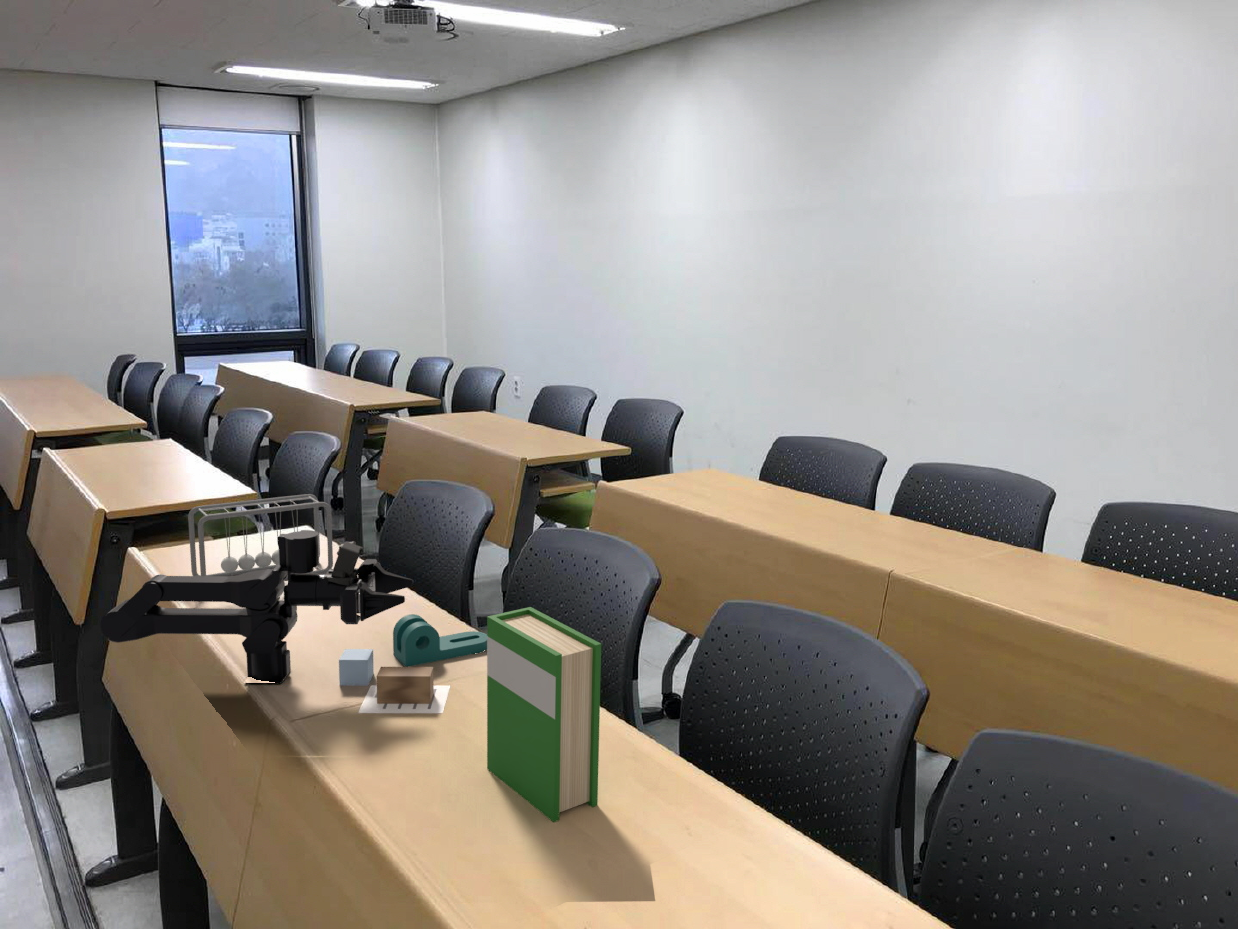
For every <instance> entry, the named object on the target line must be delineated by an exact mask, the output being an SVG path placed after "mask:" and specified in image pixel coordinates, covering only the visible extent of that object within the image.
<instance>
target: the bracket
mask: <svg viewBox="0 0 1238 929" xmlns="http://www.w3.org/2000/svg"><path fill="white" fill-rule="evenodd" d="M392 644H393V646H392V650H393V656H394V657H395V658H396V659H397V660H398V661H399V662H400V663H401V664H402V665H403V667H415V666H418V665H424V664H429V663H433V662H439V661H444V660H449V659H454V658H460V657H464V656H470V655H476V654H475V653H478V654H481V653H480V652H482V653H484V652H483V651H484V650H486V651H487V633H485V632H481V631H475V630H474V631H471V630H470V631H464V632H458V633H452V634H447V635H442V636H441V635H439V632H438V631H437V630H436V628H434V627H433V626H432V625H431V624H430V623H429V622H428V621H426V619H424V618H423V617H422V616H420V615H419V614H413V613H411V614H407V615H404V616H403V617H401V618H400V619H398V621H397V622H396V623H395V625H394V626H393V631H392ZM459 656H460V657H459Z"/></svg>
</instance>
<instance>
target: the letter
mask: <svg viewBox="0 0 1238 929" xmlns="http://www.w3.org/2000/svg"><path fill="white" fill-rule="evenodd" d="M450 688H451V685H435V684H434V694H433V698H432V701H431V704H377V684H375V685H372V684H371V685H370V687H369V689H368V691H367V693H366V695H365V697H364V699H363V702H362V704H361V705H360V708H359V710H358V712H357V713H358V714H443V713H444V709H445V707H446V702H447V699H448V696H449V693H450Z"/></svg>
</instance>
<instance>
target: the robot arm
mask: <svg viewBox="0 0 1238 929" xmlns="http://www.w3.org/2000/svg"><path fill="white" fill-rule="evenodd" d="M276 538H277V539H276V540H277V541H276V542H277V547H278V549H279V561H280V563H279V564H278V565H277V566H276V567H275V568H274V569H264V570H257V571H251V572H247V573H243V574H240V575H234V576H193V575H166V574H156V575H154V576H153V577H151V578H150V579H149V580H147V581H146V582H145V583H143V585H142V587H141V588H140V589H139V590H138V591H137V592H136V593H135V594H134V595H133V596H132V597H131V598H129V599H124V600H123V601H122V602H120V603H119V604H117V605H116V606H114V607H113V608H112V609H111V610H110V611H108V612H107V613H106V614H104V615H103V616H102V618H101V620H100V630H101V632H102V634H103V635H104V636H105V638H106V639H107V640H108V641H109V642H111V643H125V642H133V641H138V640H141V639H144V638H148V637H151V636H155V635H237V636H238V635H239V636H242V637H244V638H245V639H244V640H242V642H241V644H242V647H243V650H244V652H245V654H246V655H245V656H246V669H247V670H246V672H247V673H246V674H247V677H252V678H254V679H256V680H261V681H269V682H275V683H280V684H282V683H283V682H284V680H285V679H286V678H285V677H287V676H288V675H289V674H290V673H291V671H292V669H291V667H292V666H291V650H290V649H288V648H287V645H288V644H287V643H288V642H287V640H284V639H285V638H286V637H287V636H288V635H289V633H290V632H291V631H292V629H293V628H294V627H295V626H296V623H297V622H298V607H299V606H300V607H322V610H323V611H328V610H330V609H331V607H339V609H340V612H339V613H340V614H339V615H340V620H341V621H342V622H343V623H344V624H345V625H359V624H358V623H359V622H364V621H365V620H366V619H369V618H371V617H374V616H375V615H378V614H380V613H383V612H385V611H387V610H390V609H392V608H395V607H396V606H400V605H401V604H404V603H405V602H406V598H405V597H406V596H405V595H401V594H394V593H393V592H397V591H400V590H404V589H406V588H409V587H412V586H413V585H414V579H412V578H408V577H405V576H403V575H402V576H401V575H399V574H395V573H392V572H388V571H387V570H385V569H384V568H383V566H381V563H380V562H379V561H378V560H377V559H376V558H366V559H365V560H364V561H363V562H362V563H361V564H360V565H359V567H357V568H356V565H357V562H358V559H359V557H360V555H361V553H362V551H363V546H360V545H358V544H357V543H356V541H354V540H353V541H345V542H344V543H341V544H340V545H339V546H338V551H337V552H336V554H337V557H336V561H335V563H334V565H333V567H332V569H330V570H328V572H327V573H325V574H304V573H310V572H312V571H315V569H314V568H317V567H316V566H318V567H319V565H320V557H319V540H318V532H316V531H315V530H310V529H301V530H298V532H297V531H295V532H294V531H293V532H289V533H281V535H280V534H279V535H278V537H277V536H276ZM287 576H288V580H287V584H286V583H285V581H286V580H285V579H286V577H287ZM282 595H283V600H280V599H281V596H282ZM160 602H194V603H195V602H196V603H197V602H200V603H201V602H203V603H205V602H206V603H207V602H208V603H210V602H213V603H219V602H222V603H228V604H229V603H230V604H233V605H235V606H237V607H239V608H210V607H209V608H205V607H204V608H197V607H196V608H193V607H191V608H187V607H162V606H160V605H158V604H159V603H160ZM282 681H283V682H282ZM281 682H282V683H281Z"/></svg>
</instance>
